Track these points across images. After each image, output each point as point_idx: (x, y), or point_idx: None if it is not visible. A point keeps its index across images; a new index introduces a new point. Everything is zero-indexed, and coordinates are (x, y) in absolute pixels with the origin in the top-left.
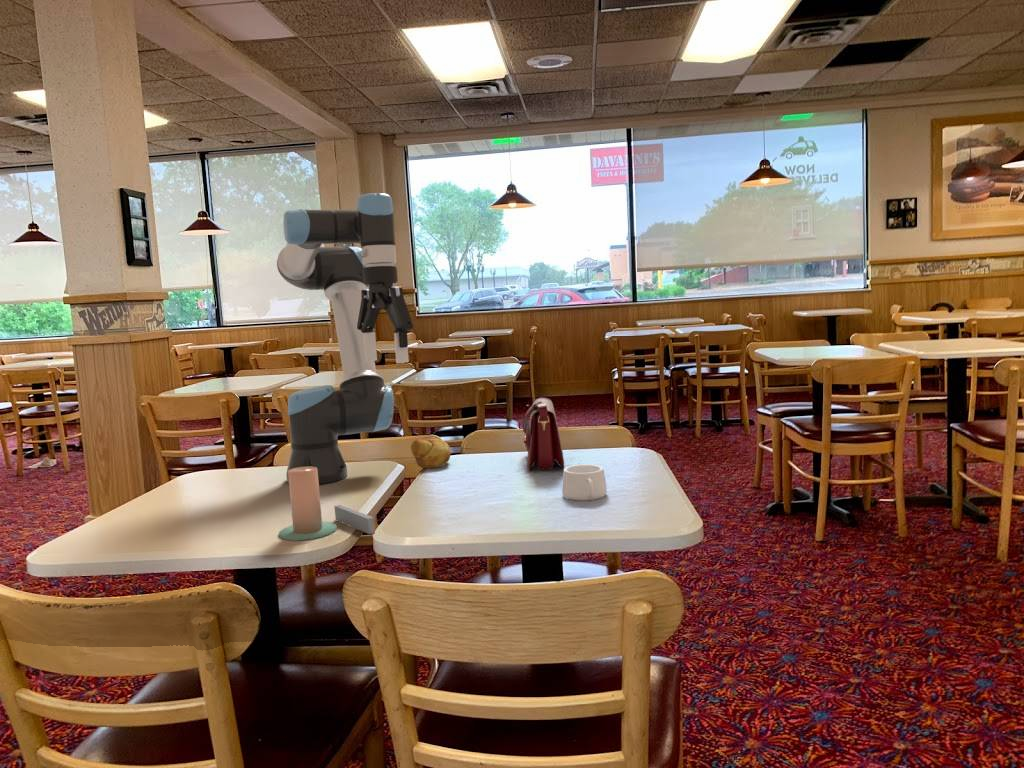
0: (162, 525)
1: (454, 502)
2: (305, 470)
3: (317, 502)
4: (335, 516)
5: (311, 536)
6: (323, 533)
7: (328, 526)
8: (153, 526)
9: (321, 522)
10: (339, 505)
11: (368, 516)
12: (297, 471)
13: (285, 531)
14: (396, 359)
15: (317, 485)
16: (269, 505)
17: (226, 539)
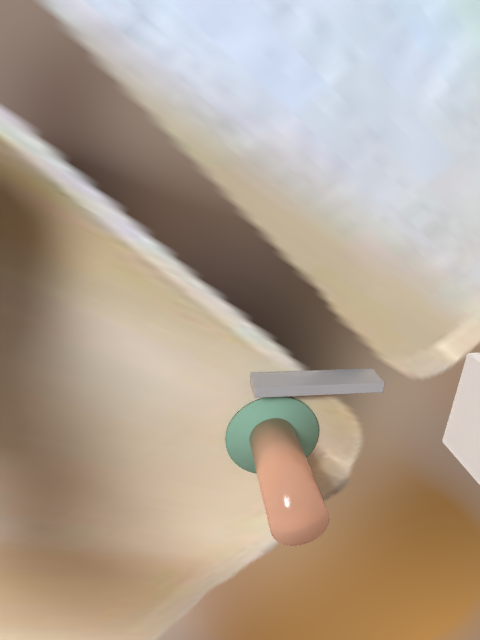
0: (35, 571)
1: (353, 146)
2: (311, 522)
3: (307, 461)
4: (251, 386)
5: (311, 445)
6: (313, 429)
7: (286, 410)
8: (31, 580)
9: (291, 428)
10: (259, 390)
11: (371, 386)
12: (305, 534)
13: (250, 463)
14: (468, 462)
15: (313, 481)
16: (33, 427)
17: (202, 522)
